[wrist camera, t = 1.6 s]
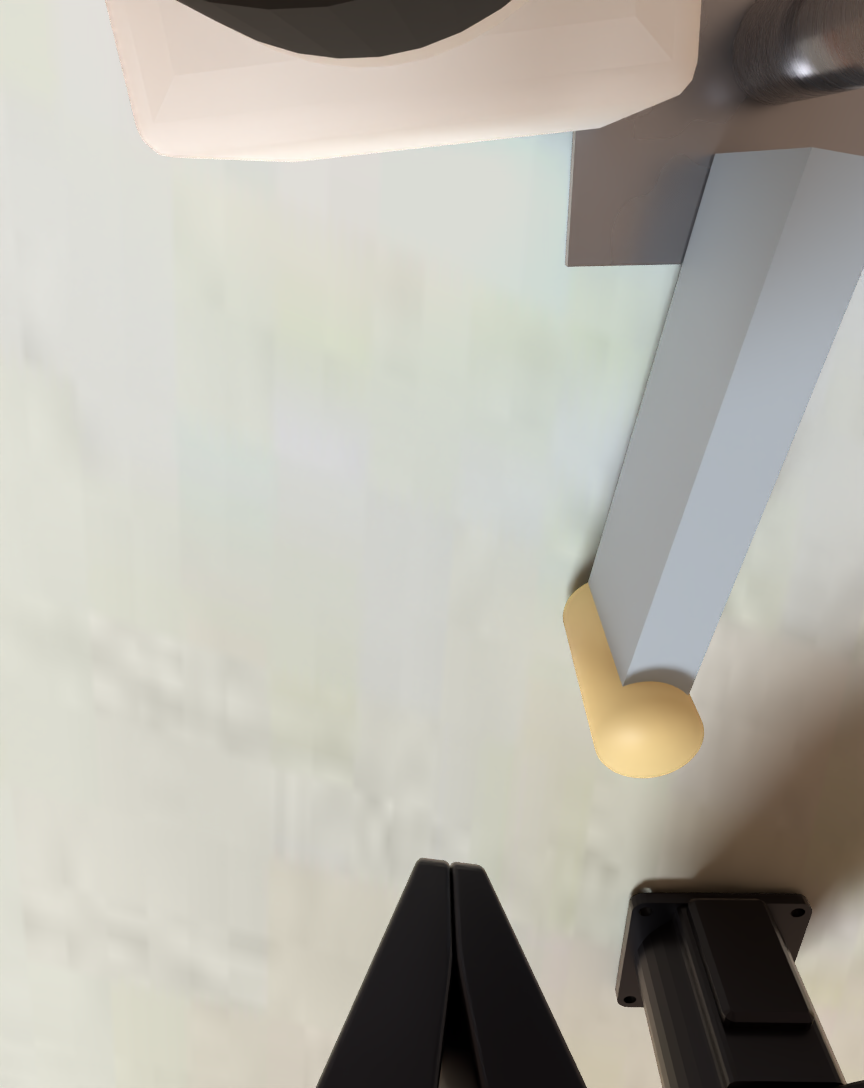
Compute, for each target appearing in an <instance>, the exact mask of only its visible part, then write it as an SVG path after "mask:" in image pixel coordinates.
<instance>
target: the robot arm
mask: <svg viewBox="0 0 864 1088" xmlns="http://www.w3.org/2000/svg"><path fill="white" fill-rule="evenodd" d="M811 914H812V908H811V906H810V904H809V902H808V900H807V899H806V897H805V896H803V895H801V894H732V893H640V894H637V895H635V896H633V897H632V898H631V899H630V902H629V908H628V914H627V920H626V926H625V932H624V938H623V945H622V951H621V957H620V963H619V969H618V976H617V982H616V988H615V991H616V996H617V1001H618V1003H619V1004H620V1005H622V1006H624V1007H644V1009H645V1014H646V1018H647V1022H648V1027H649V1031H650V1035H651V1040H652V1044H653V1048H654V1053H655V1057H656V1061H657V1066H658V1070H659V1074H660V1079H661V1083H662V1087H663V1088H864V1080H862V1081H858V1082H853V1083H849V1084H847V1083H846V1081H845V1078H844V1076H843V1074H842V1071H841V1069H840V1067H839V1065H838V1062H837V1060H836V1058H835V1055H834V1053H833V1051H832V1048H831V1046H830V1044H829V1041H828V1039H827V1037H826V1035H825V1032H824V1030H823V1028H822V1025H821V1023H820V1021H819V1018H818V1016H817V1014H816V1011H815V1009H814V1007H813V1005H812V1002H811V1000H810V998H809V995H808V993H807V991H806V988H805V986H804V984H803V982H802V979H801V977H800V975H799V972H798V970H797V968H796V965H795V960H796V957H797V954H798V951H799V949H800V946H801V943H802V940H803V937H804V934H805V931H806V928H807V926H808V923H809V920H810V917H811ZM316 1088H587V1087H586V1085H585V1083H584V1081H583V1078H582V1076H581V1074H580V1072H579V1070H578V1068H577V1066H576V1063H575V1061H574V1059H573V1057H572V1055H571V1053H570V1051H569V1049H568V1046H567V1044H566V1042H565V1040H564V1038H563V1036H562V1034H561V1031H560V1029H559V1027H558V1025H557V1023H556V1021H555V1019H554V1017H553V1014H552V1012H551V1010H550V1008H549V1006H548V1004H547V1002H546V999H545V997H544V995H543V993H542V991H541V989H540V987H539V984H538V982H537V980H536V978H535V976H534V974H533V972H532V970H531V967H530V965H529V963H528V961H527V959H526V957H525V955H524V952H523V950H522V948H521V946H520V944H519V942H518V940H517V938H516V935H515V933H514V931H513V929H512V927H511V925H510V923H509V920H508V918H507V916H506V914H505V912H504V910H503V908H502V906H501V903H500V901H499V899H498V897H497V895H496V893H495V891H494V888H493V886H492V884H491V882H490V880H489V878H488V876H487V874H486V872H485V870H484V869H483V868H482V867H481V866H480V865H476V864H468V863H460V862H454V863H452V864H451V865H450V866H449V863H448V862H446V861H444V860H436V859H428V858H420V859H419V860H418V861H417V862H416V864H415V866H414V868H413V871H412V873H411V875H410V877H409V880H408V882H407V884H406V886H405V889H404V891H403V893H402V895H401V898H400V900H399V902H398V904H397V907H396V909H395V911H394V913H393V916H392V918H391V920H390V922H389V925H388V927H387V929H386V931H385V933H384V936H383V938H382V940H381V942H380V945H379V947H378V949H377V951H376V954H375V956H374V958H373V960H372V963H371V965H370V967H369V969H368V972H367V974H366V976H365V978H364V981H363V983H362V985H361V987H360V990H359V992H358V994H357V996H356V999H355V1001H354V1003H353V1005H352V1008H351V1010H350V1012H349V1014H348V1017H347V1019H346V1021H345V1023H344V1026H343V1028H342V1030H341V1032H340V1035H339V1037H338V1039H337V1041H336V1044H335V1046H334V1048H333V1050H332V1052H331V1055H330V1057H329V1059H328V1061H327V1064H326V1066H325V1068H324V1070H323V1073H322V1075H321V1077H320V1079H319V1082H318V1084H317V1086H316Z"/></svg>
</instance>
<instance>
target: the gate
mask: <svg viewBox="0 0 864 1088" xmlns="http://www.w3.org/2000/svg"><path fill="white" fill-rule="evenodd" d="M863 267H864V156H859V155H853V154H847V153H842V152H836V151H831V150H825V149H819V148H814V147H808V148H793V149H778V150H763V151H748V152H733V153H719V154H715V156H714V159H713V163H712V166H711V169H710V173H709V176H708V180H707V183H706V186H705V190H704V193H703V196H702V200H701V203H700V207H699V210H698V213H697V217H696V220H695V223H694V227H693V230H692V234H691V237H690V240H689V244H688V247H687V250H686V254H685V257H684V261H683V264H682V267H681V271H680V274H679V277H678V281H677V284H676V287H675V291H674V294H673V298H672V301H671V304H670V308H669V311H668V314H667V318H666V321H665V325H664V328H663V331H662V335H661V338H660V341H659V345H658V348H657V352H656V355H655V358H654V362H653V365H652V368H651V372H650V375H649V379H648V382H647V385H646V389H645V392H644V395H643V399H642V402H641V405H640V409H639V412H638V416H637V419H636V422H635V426H634V429H633V432H632V436H631V439H630V443H629V446H628V449H627V453H626V456H625V459H624V463H623V466H622V470H621V473H620V476H619V480H618V483H617V486H616V490H615V493H614V497H613V500H612V503H611V507H610V510H609V513H608V517H607V520H606V523H605V527H604V530H603V534H602V537H601V540H600V544H599V547H598V550H597V554H596V557H595V561H594V564H593V567H592V571H591V574H590V577H589V581H588V583H586V584H584V585H583V586H581V587H580V588H578V589H577V590H576V591H575V592H574V593H573V594H572V595H571V596H570V598H569V599H568V601H567V603H566V605H565V607H564V612H563V622H564V626H565V630H566V634H567V638H568V642H569V646H570V650H571V654H572V658H573V662H574V666H575V670H576V674H577V678H578V682H579V687H580V691H581V695H582V699H583V703H584V707H585V711H586V715H587V719H588V723H589V727H590V731H591V735H592V739H593V743H594V747H595V750H596V753H597V755H598V757H599V759H600V760H601V762H602V763H603V764H604V765H605V766H606V767H608V768H609V769H611V770H612V771H614V772H616V773H618V774H621V775H624V776H628V777H633V778H652V777H658V776H662V775H665V774H668V773H671V772H673V771H675V770H677V769H679V768H681V767H682V766H684V765H685V764H687V763H688V762H689V761H690V760H691V759H692V758H693V757H694V756H695V755H696V753H697V752H698V751H699V749H700V747H701V745H702V742H703V737H704V727H703V723H702V721H701V718H700V716H699V714H698V712H697V709H696V707H695V705H694V703H693V701H692V698H691V696H690V694H689V693H690V690H691V688H692V685H693V683H694V680H695V678H696V675H697V673H698V671H699V668H700V666H701V663H702V661H703V658H704V656H705V654H706V651H707V649H708V646H709V644H710V641H711V639H712V636H713V634H714V632H715V629H716V627H717V624H718V622H719V619H720V617H721V614H722V612H723V610H724V607H725V605H726V602H727V600H728V597H729V595H730V592H731V590H732V588H733V585H734V583H735V580H736V578H737V575H738V573H739V570H740V568H741V566H742V563H743V561H744V558H745V556H746V553H747V551H748V548H749V546H750V544H751V541H752V539H753V536H754V534H755V531H756V529H757V526H758V524H759V522H760V519H761V517H762V514H763V512H764V509H765V507H766V504H767V502H768V500H769V497H770V495H771V492H772V490H773V487H774V485H775V482H776V480H777V478H778V475H779V473H780V470H781V468H782V465H783V463H784V460H785V458H786V456H787V453H788V451H789V448H790V446H791V443H792V441H793V438H794V436H795V434H796V431H797V429H798V426H799V424H800V421H801V419H802V416H803V414H804V412H805V409H806V407H807V404H808V402H809V399H810V397H811V394H812V392H813V390H814V387H815V385H816V382H817V380H818V377H819V375H820V373H821V370H822V368H823V365H824V363H825V360H826V358H827V355H828V353H829V351H830V348H831V346H832V343H833V341H834V338H835V336H836V333H837V331H838V329H839V326H840V324H841V321H842V319H843V316H844V314H845V311H846V309H847V307H848V304H849V302H850V299H851V297H852V294H853V292H854V289H855V287H856V285H857V282H858V280H859V277H860V275H861V272H862V270H863Z"/></svg>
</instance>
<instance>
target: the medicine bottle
mask: <svg viewBox="0 0 864 1088" xmlns="http://www.w3.org/2000/svg"><path fill="white" fill-rule="evenodd" d="M105 2H106V6H107V10H108V14H109V18H110V22H111V26H112V30H113V34H114V39H115V43H116V47H117V51H118V55H119V59H120V63H121V67H122V71H123V75H124V79H125V83H126V87H127V91H128V95H129V99H130V103H131V107H132V111H133V116H134V120H135V124H136V128H137V130H138V132H139V134H140V136H141V138H142V140H143V142H145V143H146V144H147V145H148V146H149V147H151V148H152V149H153V150H154V151H155V152H156V153H158V154H159V155H163V156H169V157H176V158H201V159H227V160H253V161H279V162H300V161H309V160H318V159H327V158H336V157H345V156H354V155H363V154H372V153H381V152H390V151H399V150H408V149H417V148H426V147H435V146H444V145H453V144H462V143H471V142H480V141H489V140H498V139H507V138H516V137H525V136H534V135H543V134H552V133H561V132H570V131H578V130H587V129H596V128H601V127H604V126H606V125H608V124H611V123H613V122H616V121H618V120H620V119H623V118H625V117H628V116H630V115H632V114H635V113H637V112H640V111H642V110H644V109H647V108H649V107H652V106H654V105H656V104H659V103H661V102H663V101H666V100H668V99H671V98H673V97H675V96H678V95H680V94H681V93H682V91H683V90H684V89H685V88H686V87H687V86H688V84H689V83H690V82H691V81H692V79H693V75H694V72H695V68H696V65H697V62H698V47H699V31H700V16H701V0H105Z"/></svg>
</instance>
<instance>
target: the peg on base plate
mask: <svg viewBox="0 0 864 1088" xmlns="http://www.w3.org/2000/svg"><path fill="white" fill-rule="evenodd" d="M808 147H814V148H819V149H825V150H831V151H836V152H842V153H847V154H853V155H859V156H864V0H701V16H700V31H699V47H698V62H697V65H696V68H695V72H694V75H693V79H692V81H691V82H690V83H689V84H688V86H687V87H686V88H685V89H684V90H683V91H682V93H681V94H680V95H678V96H675V97H673V98H671V99H668V100H666V101H663V102H661V103H659V104H656V105H654V106H652V107H649V108H647V109H644V110H642V111H640V112H637V113H635V114H632V115H630V116H628V117H625V118H623V119H620V120H618V121H616V122H613V123H611V124H608V125H606V126H604V127H601V128H596V129H587V130H578V131H573V138H572V155H571V172H570V189H569V206H568V223H567V240H566V257H565V265H566V266H567V267H573V266H617V265H662V264H683V261H684V257H685V254H686V250H687V247H688V244H689V240H690V237H691V234H692V230H693V227H694V223H695V220H696V217H697V213H698V210H699V207H700V203H701V200H702V196H703V193H704V190H705V186H706V183H707V180H708V176H709V173H710V169H711V166H712V163H713V159H714V156H715V154H719V153H733V152H748V151H763V150H778V149H793V148H808Z"/></svg>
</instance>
